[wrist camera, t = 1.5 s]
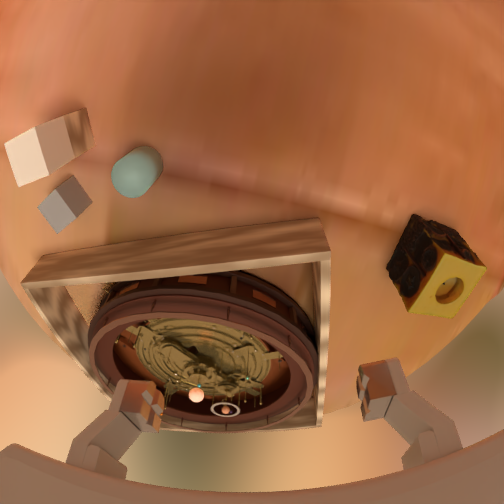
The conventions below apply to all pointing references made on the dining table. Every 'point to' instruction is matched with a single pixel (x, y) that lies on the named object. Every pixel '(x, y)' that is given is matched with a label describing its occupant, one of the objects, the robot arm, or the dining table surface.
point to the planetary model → (207, 346)
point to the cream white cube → (39, 151)
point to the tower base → (79, 131)
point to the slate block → (64, 204)
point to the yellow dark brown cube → (434, 268)
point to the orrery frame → (179, 264)
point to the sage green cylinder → (137, 171)
